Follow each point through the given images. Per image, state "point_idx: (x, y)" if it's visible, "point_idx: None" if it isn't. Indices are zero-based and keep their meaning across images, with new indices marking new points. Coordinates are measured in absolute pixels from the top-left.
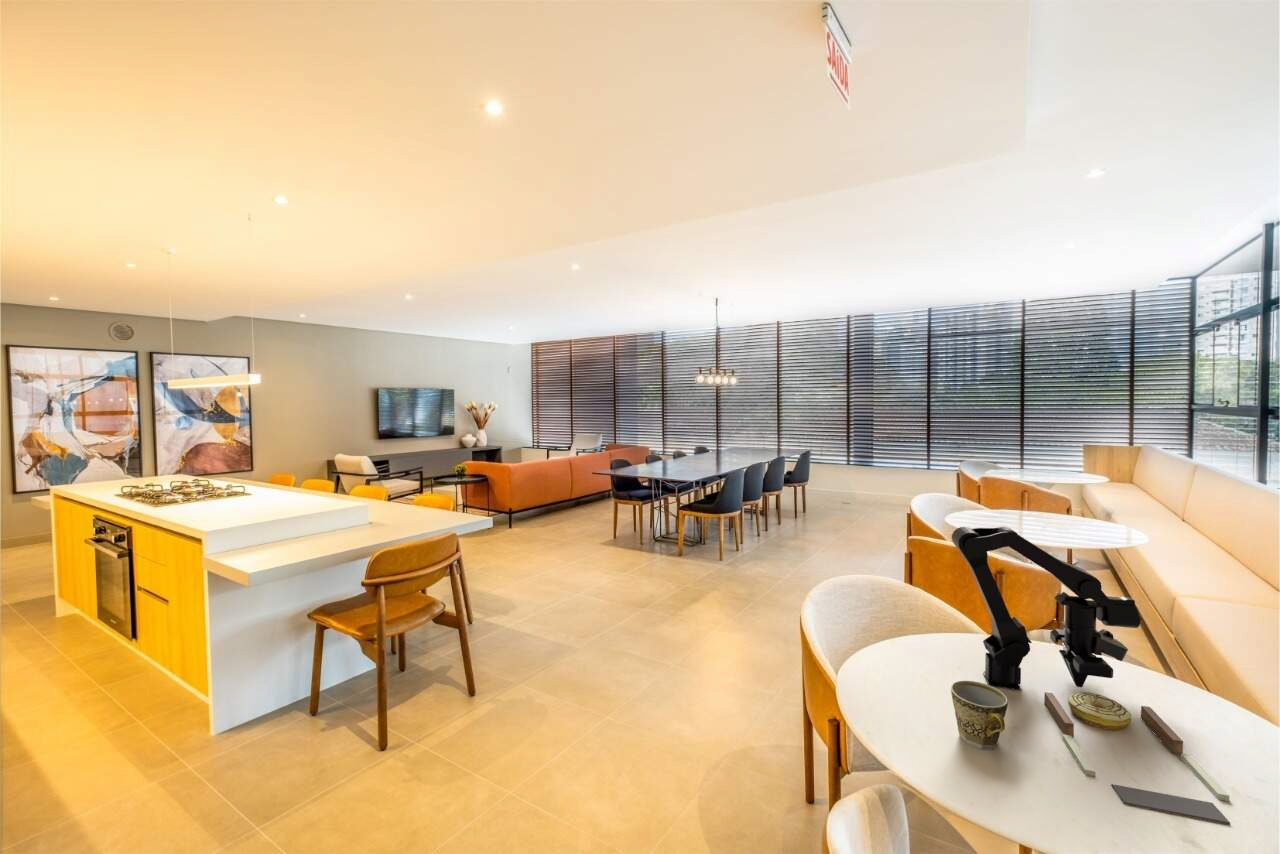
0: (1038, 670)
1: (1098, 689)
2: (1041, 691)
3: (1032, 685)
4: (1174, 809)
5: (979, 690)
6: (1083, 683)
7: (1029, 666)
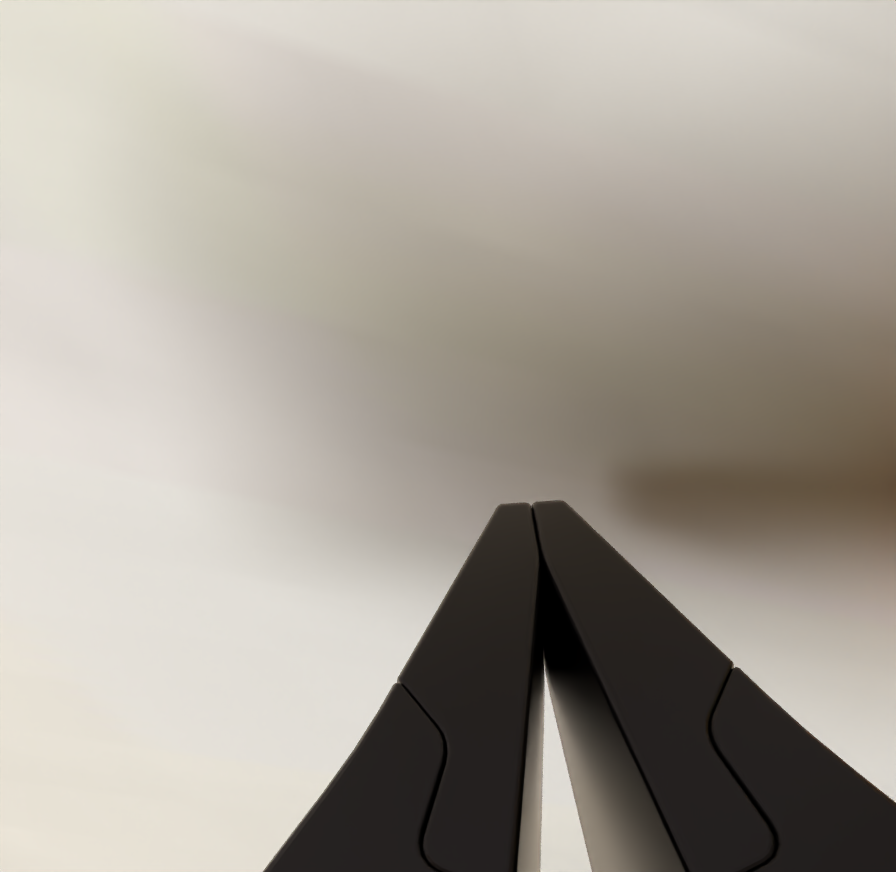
0: (113, 751)
1: (314, 147)
2: None
3: (561, 846)
4: None
5: None
6: (608, 547)
7: (61, 800)
